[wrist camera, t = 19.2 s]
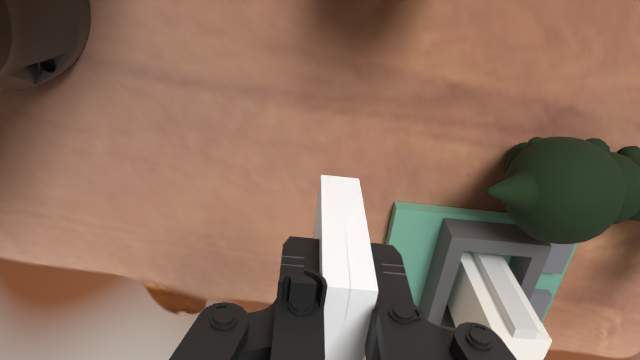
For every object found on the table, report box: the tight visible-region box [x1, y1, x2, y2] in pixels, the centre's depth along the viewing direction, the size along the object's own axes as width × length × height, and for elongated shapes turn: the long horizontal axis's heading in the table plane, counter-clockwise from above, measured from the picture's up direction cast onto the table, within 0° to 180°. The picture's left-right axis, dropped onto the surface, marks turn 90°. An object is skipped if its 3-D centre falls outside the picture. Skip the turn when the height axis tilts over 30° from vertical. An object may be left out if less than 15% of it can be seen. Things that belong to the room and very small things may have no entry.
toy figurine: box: [486, 137, 640, 244], centre depth 40 cm, size 9×19×25 cm
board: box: [385, 201, 578, 331], centre depth 51 cm, size 20×14×5 cm
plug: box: [447, 252, 552, 360], centre depth 46 cm, size 5×7×12 cm
